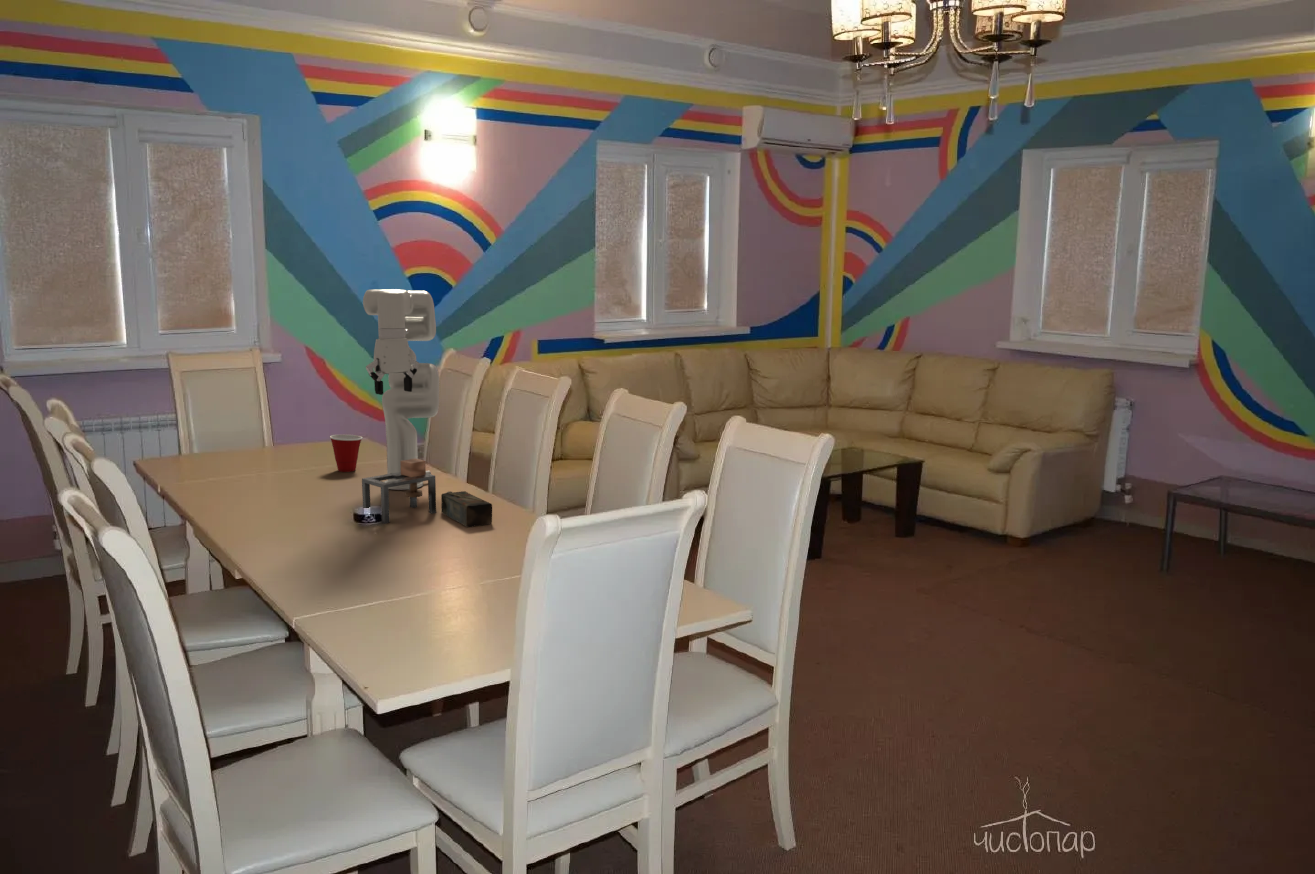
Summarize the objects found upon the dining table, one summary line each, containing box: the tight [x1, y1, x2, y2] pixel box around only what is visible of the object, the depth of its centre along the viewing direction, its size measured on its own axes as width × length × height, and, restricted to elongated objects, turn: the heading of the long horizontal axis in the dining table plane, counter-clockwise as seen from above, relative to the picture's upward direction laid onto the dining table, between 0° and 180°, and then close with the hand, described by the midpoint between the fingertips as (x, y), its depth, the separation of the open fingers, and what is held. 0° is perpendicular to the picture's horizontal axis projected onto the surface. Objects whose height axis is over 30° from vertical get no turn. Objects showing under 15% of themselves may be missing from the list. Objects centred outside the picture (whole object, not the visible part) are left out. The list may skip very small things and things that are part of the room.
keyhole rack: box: [361, 472, 437, 524], centre depth 288 cm, size 17×11×11 cm, turn 138°
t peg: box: [400, 458, 427, 498], centre depth 291 cm, size 5×5×10 cm
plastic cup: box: [329, 434, 363, 473], centre depth 346 cm, size 11×11×12 cm
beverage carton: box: [440, 490, 493, 528], centre depth 286 cm, size 8×19×7 cm, turn 34°
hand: (393, 392), depth 297 cm, fingers open, 9 cm apart
